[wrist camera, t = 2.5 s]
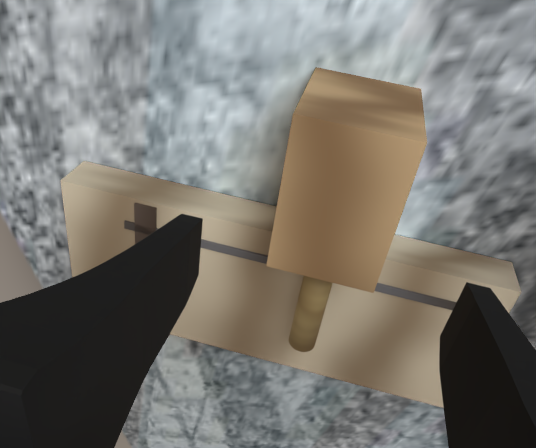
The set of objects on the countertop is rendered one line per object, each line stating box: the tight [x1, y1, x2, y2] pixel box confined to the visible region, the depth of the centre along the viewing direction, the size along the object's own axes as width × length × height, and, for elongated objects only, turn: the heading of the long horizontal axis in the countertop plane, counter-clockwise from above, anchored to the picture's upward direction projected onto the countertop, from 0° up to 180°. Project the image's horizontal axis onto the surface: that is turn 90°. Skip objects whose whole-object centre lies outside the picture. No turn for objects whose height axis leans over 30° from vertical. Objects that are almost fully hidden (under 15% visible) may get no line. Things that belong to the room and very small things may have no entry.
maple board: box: [61, 161, 521, 408], centre depth 24 cm, size 20×8×2 cm, turn 82°
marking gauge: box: [266, 67, 427, 352], centre depth 20 cm, size 4×11×5 cm, turn 172°
